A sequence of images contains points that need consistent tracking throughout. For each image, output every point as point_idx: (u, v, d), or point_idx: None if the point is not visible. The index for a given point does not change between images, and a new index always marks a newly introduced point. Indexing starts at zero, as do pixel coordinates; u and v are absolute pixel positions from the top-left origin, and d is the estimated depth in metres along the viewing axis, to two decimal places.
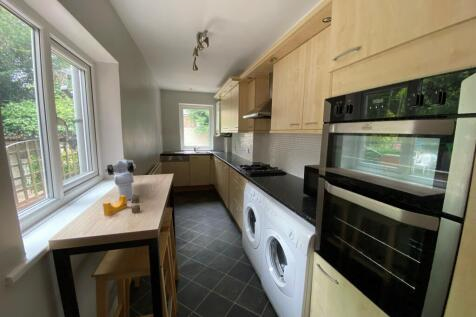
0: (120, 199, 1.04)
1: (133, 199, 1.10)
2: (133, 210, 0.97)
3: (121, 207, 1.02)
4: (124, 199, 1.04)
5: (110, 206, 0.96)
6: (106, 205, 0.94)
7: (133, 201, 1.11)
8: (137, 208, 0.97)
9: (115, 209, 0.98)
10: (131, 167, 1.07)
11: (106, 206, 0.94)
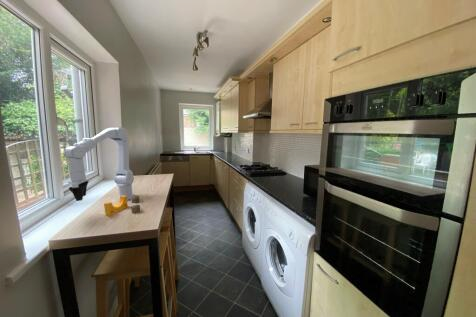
0: (121, 199, 1.04)
1: (133, 199, 1.10)
2: (133, 210, 0.97)
3: (122, 207, 1.02)
4: (125, 199, 1.04)
5: (111, 206, 0.95)
6: (107, 205, 0.94)
7: (133, 201, 1.11)
8: (137, 208, 0.97)
9: (116, 210, 0.98)
10: None
11: (108, 207, 0.94)
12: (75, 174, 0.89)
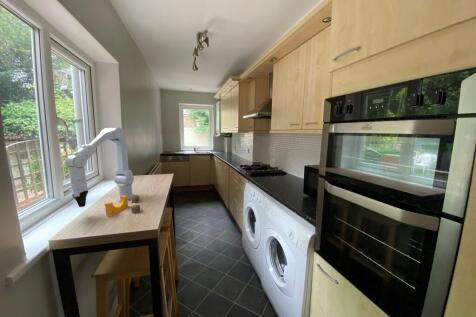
0: (121, 199, 1.04)
1: (133, 199, 1.10)
2: (133, 210, 0.97)
3: (122, 207, 1.02)
4: (125, 199, 1.04)
5: (112, 206, 0.95)
6: (108, 205, 0.94)
7: (133, 201, 1.11)
8: (137, 208, 0.97)
9: (117, 210, 0.98)
10: (79, 194, 0.92)
11: (108, 207, 0.94)
12: (76, 183, 0.90)
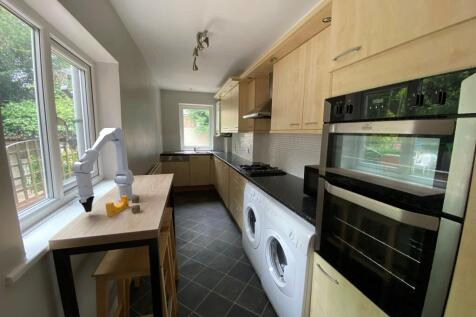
0: (122, 199, 1.03)
1: (133, 199, 1.10)
2: (133, 210, 0.97)
3: (123, 207, 1.02)
4: (126, 199, 1.04)
5: (113, 206, 0.95)
6: (109, 205, 0.94)
7: (133, 201, 1.11)
8: (137, 208, 0.97)
9: (117, 210, 0.98)
10: None
11: (109, 207, 0.94)
12: (83, 189, 0.91)
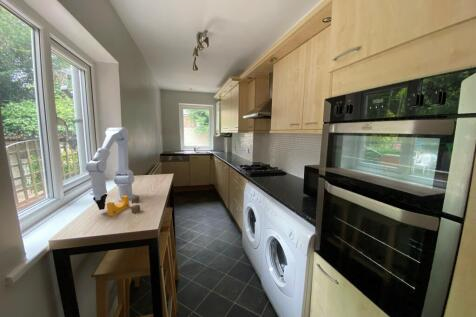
0: (122, 199, 1.03)
1: (133, 199, 1.10)
2: (133, 210, 0.97)
3: (124, 207, 1.02)
4: (127, 199, 1.04)
5: (114, 206, 0.95)
6: (110, 205, 0.94)
7: (133, 201, 1.11)
8: (137, 208, 0.97)
9: (118, 210, 0.98)
10: None
11: (110, 207, 0.94)
12: (97, 187, 0.94)
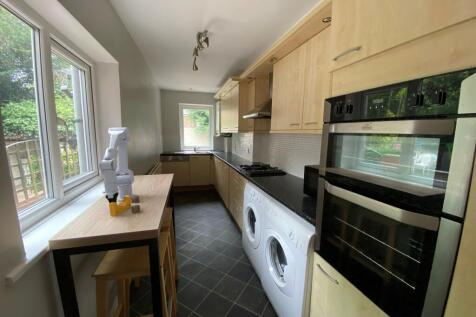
0: (125, 199, 1.03)
1: (133, 199, 1.10)
2: (133, 210, 0.97)
3: (126, 207, 1.02)
4: (129, 199, 1.04)
5: (116, 206, 0.95)
6: (112, 205, 0.94)
7: (133, 201, 1.11)
8: (137, 208, 0.97)
9: (121, 209, 0.98)
10: None
11: (113, 207, 0.94)
12: (109, 185, 0.96)
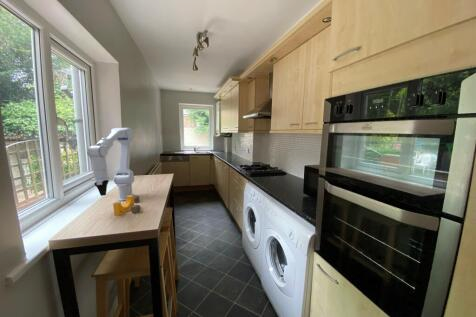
0: (128, 199, 1.03)
1: None
2: (133, 210, 0.97)
3: (129, 207, 1.02)
4: (132, 199, 1.04)
5: (120, 206, 0.95)
6: (117, 205, 0.94)
7: None
8: (137, 208, 0.97)
9: (124, 209, 0.98)
10: (101, 183, 0.95)
11: (117, 207, 0.94)
12: (98, 172, 0.93)
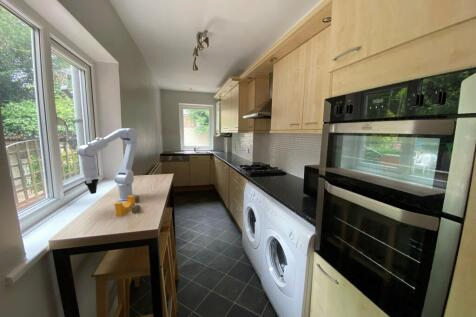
0: (129, 199, 1.03)
1: None
2: (133, 210, 0.97)
3: (130, 207, 1.02)
4: (133, 199, 1.04)
5: (122, 206, 0.95)
6: (118, 205, 0.94)
7: None
8: (137, 208, 0.97)
9: (126, 209, 0.98)
10: None
11: (119, 207, 0.94)
12: (88, 171, 0.96)
